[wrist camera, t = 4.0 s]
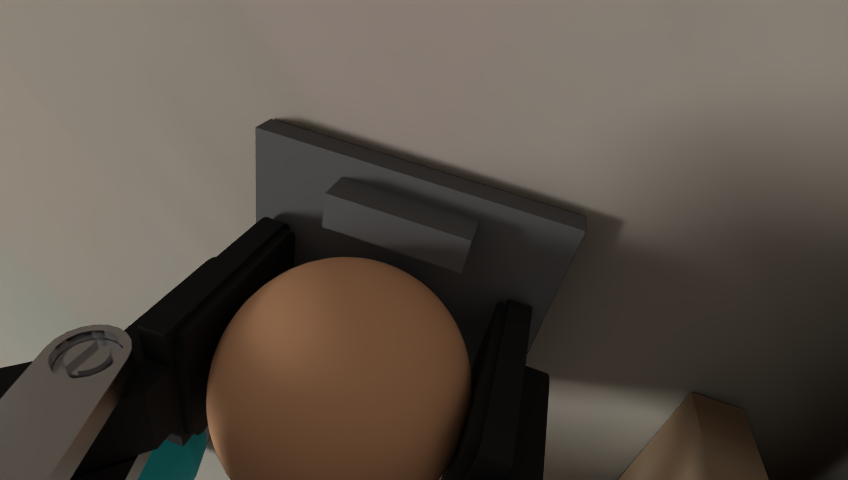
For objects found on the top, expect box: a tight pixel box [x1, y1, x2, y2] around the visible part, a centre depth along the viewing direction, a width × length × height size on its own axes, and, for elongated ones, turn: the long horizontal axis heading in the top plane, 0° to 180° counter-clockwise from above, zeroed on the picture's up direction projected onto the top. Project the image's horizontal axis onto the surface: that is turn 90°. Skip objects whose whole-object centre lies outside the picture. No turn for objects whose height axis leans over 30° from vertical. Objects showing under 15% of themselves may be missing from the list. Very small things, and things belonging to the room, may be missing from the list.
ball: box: [206, 257, 472, 480], centre depth 9 cm, size 5×5×5 cm
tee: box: [256, 119, 586, 369], centre depth 11 cm, size 7×7×1 cm
